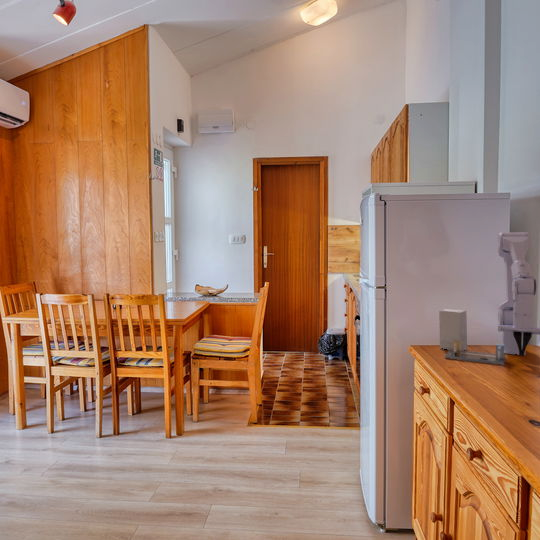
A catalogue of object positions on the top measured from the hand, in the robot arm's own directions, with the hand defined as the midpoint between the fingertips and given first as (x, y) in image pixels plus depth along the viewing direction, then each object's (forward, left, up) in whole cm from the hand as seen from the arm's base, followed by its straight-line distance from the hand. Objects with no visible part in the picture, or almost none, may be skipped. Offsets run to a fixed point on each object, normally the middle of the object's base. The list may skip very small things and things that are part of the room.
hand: (521, 354), depth 152 cm
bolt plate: (+1, -14, -3) cm, 14 cm away
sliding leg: (+2, -7, -1) cm, 7 cm away
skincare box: (-9, -23, -3) cm, 25 cm away
